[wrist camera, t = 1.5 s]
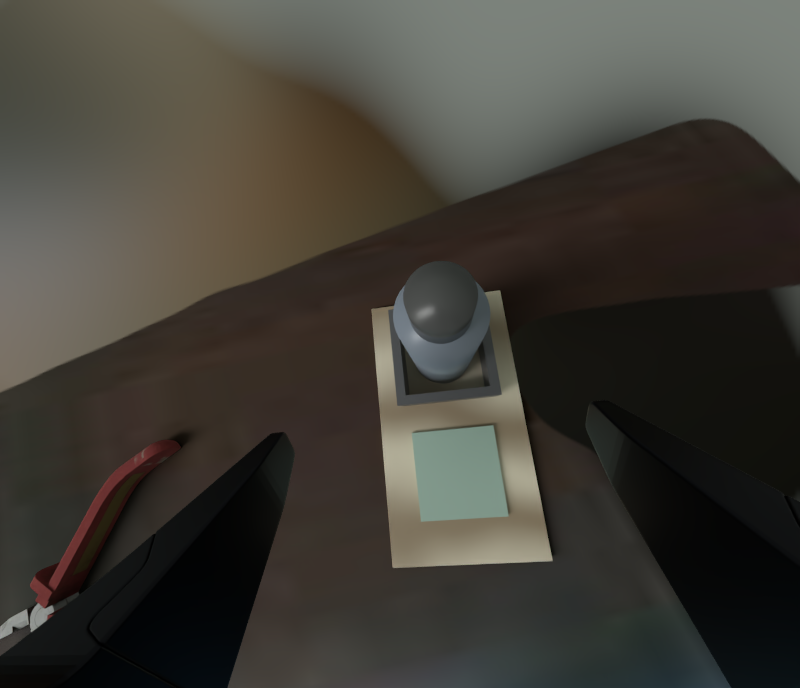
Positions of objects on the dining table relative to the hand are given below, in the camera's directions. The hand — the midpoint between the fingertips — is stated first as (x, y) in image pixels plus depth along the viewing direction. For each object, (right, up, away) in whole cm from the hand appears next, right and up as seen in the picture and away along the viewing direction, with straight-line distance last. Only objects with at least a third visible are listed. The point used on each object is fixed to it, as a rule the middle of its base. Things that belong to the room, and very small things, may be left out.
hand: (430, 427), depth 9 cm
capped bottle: (+2, +2, +13) cm, 13 cm away
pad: (+3, -6, +11) cm, 13 cm away
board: (+3, -3, +12) cm, 13 cm away
